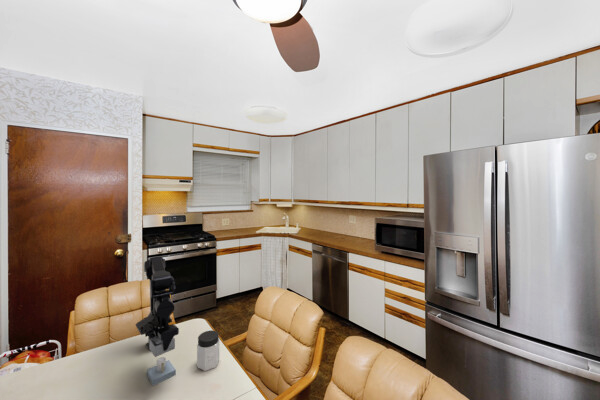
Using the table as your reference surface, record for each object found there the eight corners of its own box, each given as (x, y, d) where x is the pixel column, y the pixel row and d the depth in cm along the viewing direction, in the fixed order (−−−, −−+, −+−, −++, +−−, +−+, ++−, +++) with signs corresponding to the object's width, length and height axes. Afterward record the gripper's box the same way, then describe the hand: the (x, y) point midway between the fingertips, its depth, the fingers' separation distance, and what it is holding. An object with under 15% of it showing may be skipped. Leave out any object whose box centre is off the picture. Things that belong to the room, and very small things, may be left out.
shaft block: (146, 374, 97) (146, 359, 97) (168, 364, 103) (168, 350, 102) (152, 385, 91) (152, 369, 91) (175, 374, 97) (175, 359, 97)
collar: (168, 341, 102) (168, 331, 102) (174, 348, 97) (174, 338, 97) (149, 349, 97) (149, 339, 97) (155, 357, 92) (155, 346, 92)
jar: (199, 373, 97) (199, 344, 97) (195, 362, 104) (195, 334, 104) (222, 365, 102) (222, 337, 102) (216, 354, 109) (216, 328, 109)
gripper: (131, 306, 97) (131, 345, 98) (145, 323, 84) (145, 368, 85) (162, 297, 105) (162, 333, 106) (179, 312, 92) (179, 353, 93)
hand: (162, 346), depth 97 cm, fingers closed on collar, 7 cm apart
